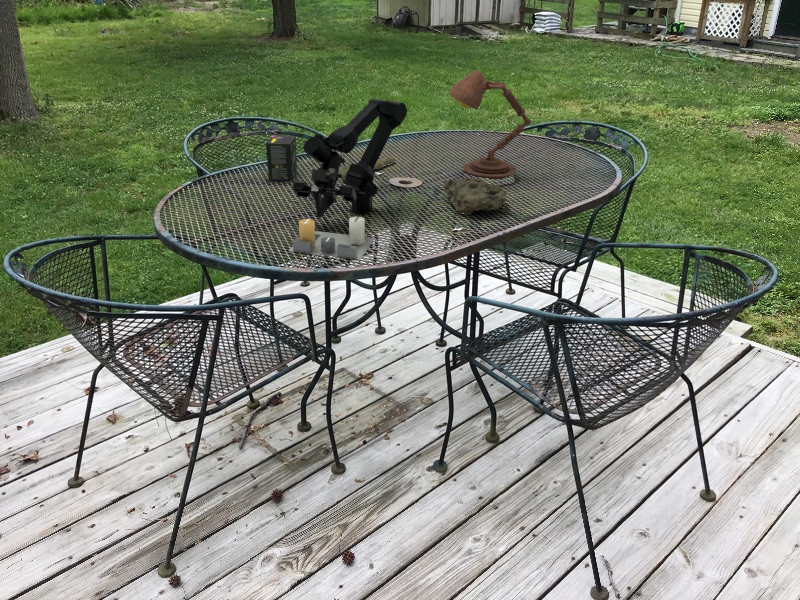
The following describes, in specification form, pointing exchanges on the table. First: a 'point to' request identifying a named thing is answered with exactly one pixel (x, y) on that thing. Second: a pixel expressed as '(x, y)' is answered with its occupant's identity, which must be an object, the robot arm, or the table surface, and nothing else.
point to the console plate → (341, 246)
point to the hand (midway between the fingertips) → (318, 217)
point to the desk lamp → (471, 96)
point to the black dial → (327, 244)
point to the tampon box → (281, 158)
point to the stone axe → (378, 164)
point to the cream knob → (356, 230)
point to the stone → (474, 195)
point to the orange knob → (307, 230)
